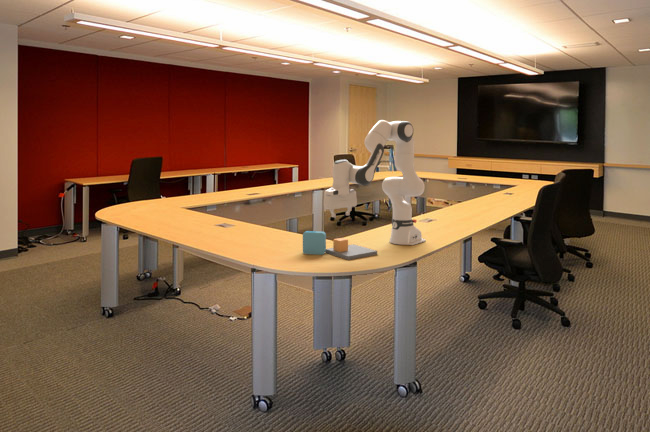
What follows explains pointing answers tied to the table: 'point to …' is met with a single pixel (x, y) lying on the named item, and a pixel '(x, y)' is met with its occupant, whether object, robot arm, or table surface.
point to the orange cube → (340, 244)
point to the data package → (314, 242)
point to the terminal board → (352, 252)
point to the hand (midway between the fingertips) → (340, 216)
